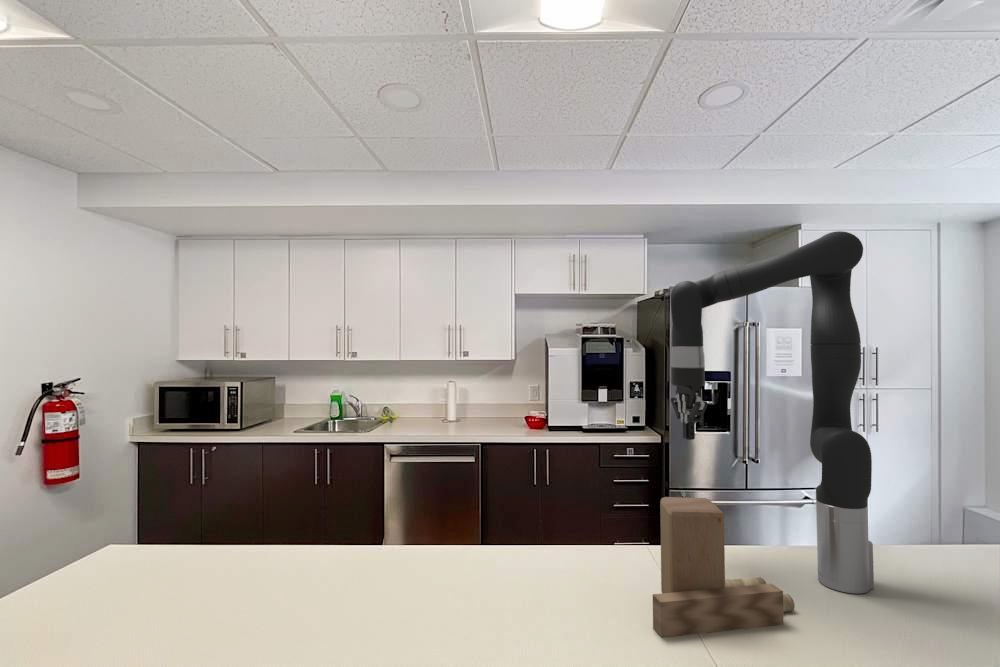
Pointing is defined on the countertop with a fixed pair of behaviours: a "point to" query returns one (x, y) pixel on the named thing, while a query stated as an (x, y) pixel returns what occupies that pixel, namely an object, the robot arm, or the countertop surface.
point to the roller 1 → (744, 582)
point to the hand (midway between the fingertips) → (688, 439)
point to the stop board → (717, 609)
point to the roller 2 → (788, 603)
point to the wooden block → (691, 545)
